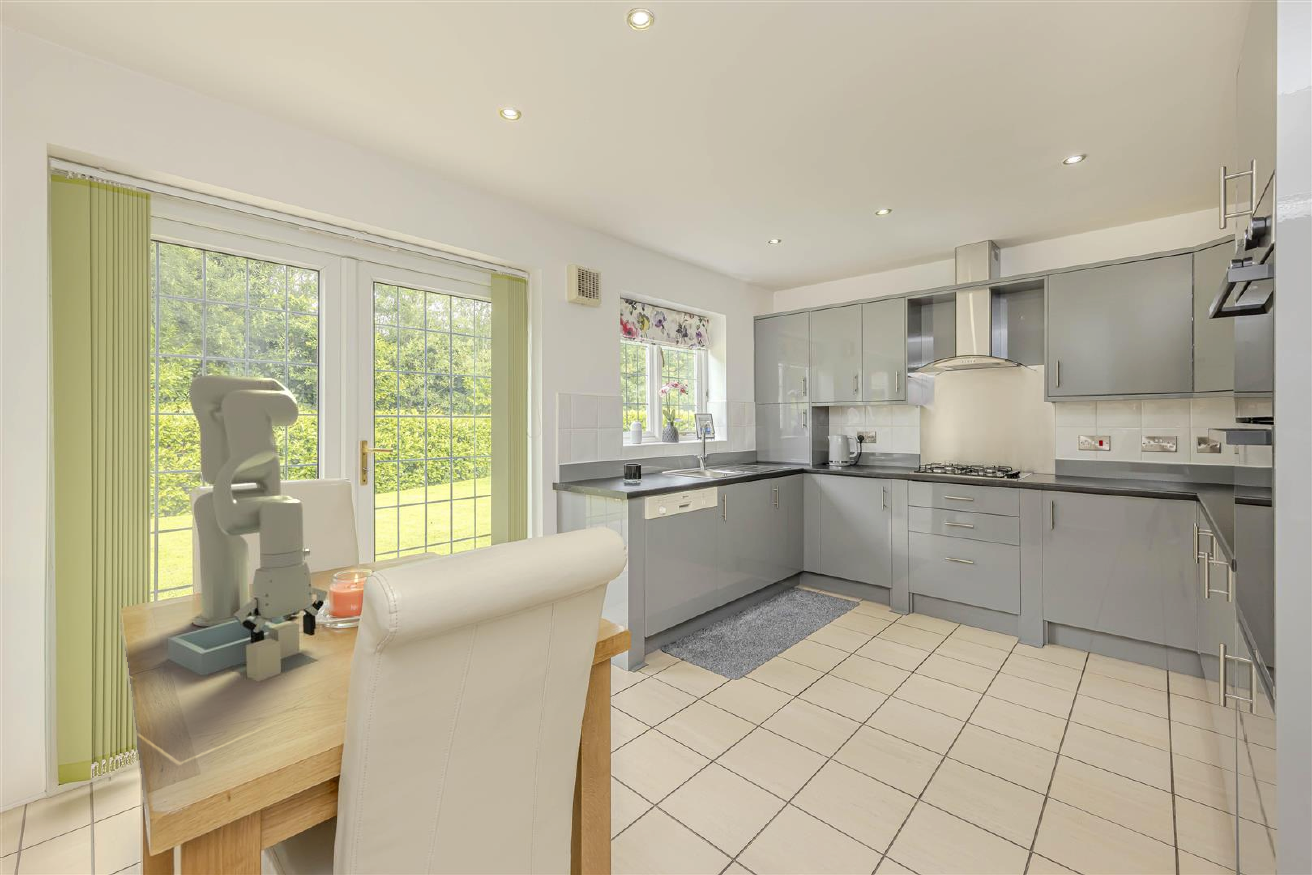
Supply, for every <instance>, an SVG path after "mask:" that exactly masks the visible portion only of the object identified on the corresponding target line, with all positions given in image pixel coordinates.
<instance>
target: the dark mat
mask: <svg viewBox="0 0 1312 875" xmlns="http://www.w3.org/2000/svg"><path fill="white" fill-rule="evenodd" d="M317 661H318V659H317V658H314V657H312V656H308V655H306V654H304V653H301V652H300V653H297V654H294V655H291V656H288V657H286V658H283V659H281V673H280V674H277V675H276V676H278V675H281V674H283V673H287V672H290V671H292V670H294V669H297V668H301V667H304V666H306V665H309V664H311V663H314V662H317ZM228 668H229V670H231V671H234V672H236V673H238V674H240V675H242V676H244V677H247V662H243V663H240V664H237V665H234V666H231V667H228ZM247 678H249V677H247ZM269 678H271V677H269ZM269 678H266V679H269ZM249 679H250V678H249ZM266 679H263V680H260V681H256V682H261V681H264V680H266Z"/></svg>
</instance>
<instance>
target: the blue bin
mask: <svg viewBox="0 0 1312 875" xmlns="http://www.w3.org/2000/svg"><path fill="white" fill-rule="evenodd" d="M247 618H248V620H249V621H252V620H253V618H254V617H253V616H250V617H247ZM273 625H276V624H274V623H271V622H268V621H267V622H266V623H265V624H264V626H263V627H262V629H261V630H262V631H264V640H265V639H268V627H269V626H273ZM249 644H251V632H250V630H248V629H247V628H245V627H243V626H242V625H240V623H239V622H238V620H235V621H231V622H227V623H223V624H220V625H216V626H207V627H206V628H205V627H204V628H201V629H197V630H195V631H189V632H185V633H183V634H179V635H174V636H172V637H171V636H170V637H167V647H168V648H167V651H168V655H167V657H168V658H167V659H168V660H170V661H172V662H174V663H175V664H177V665H180V666H182V667H184V668H186V669H188V670H190V671H192V672H194V673H195V674H198V675H200V676H202V677H203V676H205V675H209V674H212V673H215V672H218V671H222V670H224V669H228V668H232V667H235V666H238V665H241V664H244V663H247V654H246V645H249Z"/></svg>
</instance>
